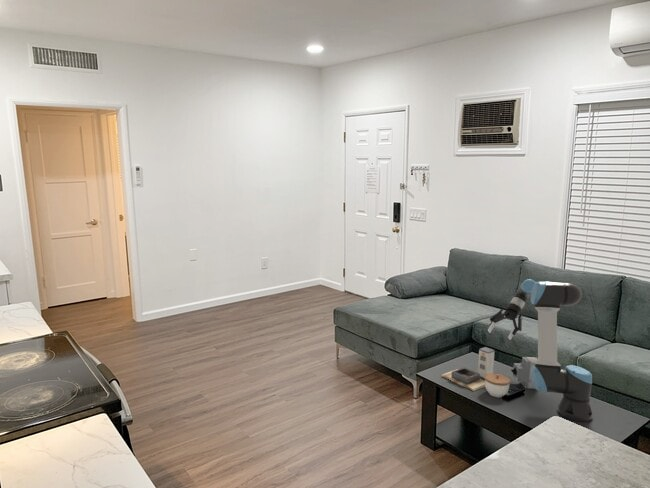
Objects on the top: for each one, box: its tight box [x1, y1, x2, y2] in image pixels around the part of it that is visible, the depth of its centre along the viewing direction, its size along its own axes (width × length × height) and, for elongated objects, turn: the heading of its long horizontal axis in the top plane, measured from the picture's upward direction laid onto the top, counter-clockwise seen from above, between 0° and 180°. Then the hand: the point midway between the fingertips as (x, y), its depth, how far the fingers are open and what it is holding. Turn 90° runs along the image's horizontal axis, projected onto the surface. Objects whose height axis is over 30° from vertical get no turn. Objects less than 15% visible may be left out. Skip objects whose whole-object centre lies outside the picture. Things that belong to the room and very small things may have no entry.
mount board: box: [441, 368, 486, 392], centre depth 265 cm, size 22×14×1 cm, turn 35°
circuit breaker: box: [511, 356, 538, 390], centre depth 260 cm, size 8×14×15 cm, turn 88°
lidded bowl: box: [484, 372, 511, 398], centre depth 248 cm, size 13×13×11 cm
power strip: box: [477, 346, 495, 379], centre depth 271 cm, size 6×6×16 cm
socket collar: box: [451, 366, 481, 384], centre depth 265 cm, size 11×11×4 cm
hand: (498, 335), depth 275 cm, fingers open, 13 cm apart
